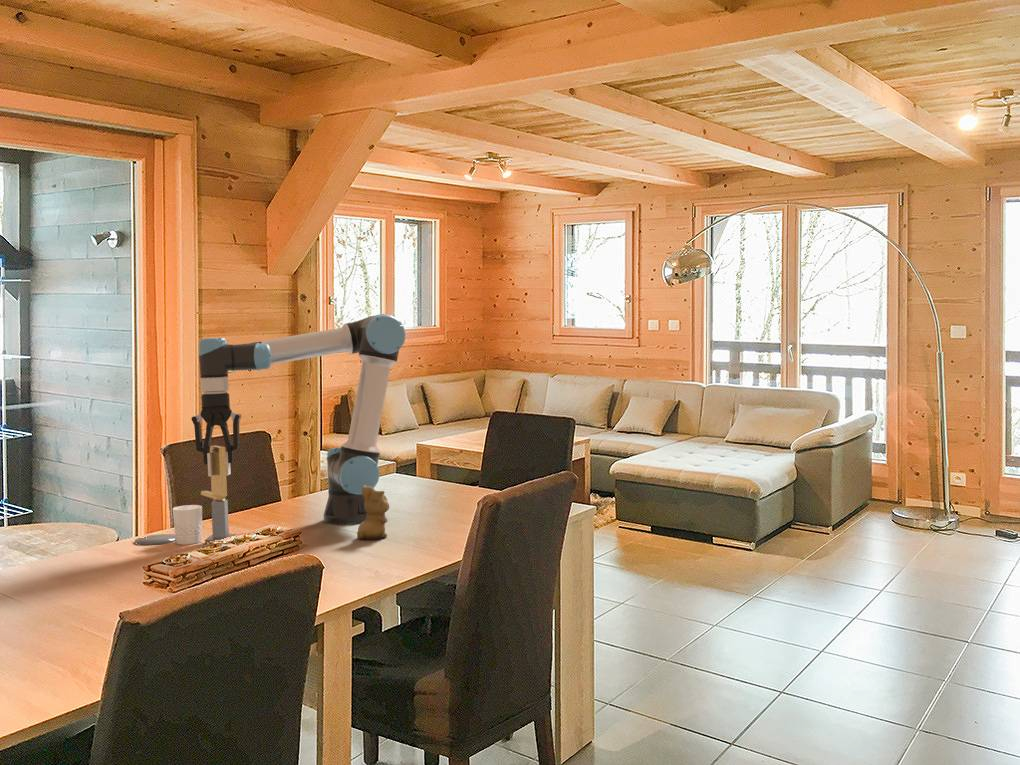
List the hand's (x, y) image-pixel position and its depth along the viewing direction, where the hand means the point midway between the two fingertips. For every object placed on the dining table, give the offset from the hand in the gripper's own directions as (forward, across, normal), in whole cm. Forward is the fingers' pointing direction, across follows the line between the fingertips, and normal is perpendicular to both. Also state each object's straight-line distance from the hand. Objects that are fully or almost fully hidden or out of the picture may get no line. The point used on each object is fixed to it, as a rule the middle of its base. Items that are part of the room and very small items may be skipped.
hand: (219, 475), depth 259 cm
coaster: (+19, +20, -5) cm, 28 cm away
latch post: (+19, +1, -1) cm, 19 cm away
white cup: (+19, +10, -1) cm, 21 cm away
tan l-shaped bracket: (+7, +3, -4) cm, 9 cm away
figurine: (+20, -43, +3) cm, 48 cm away
